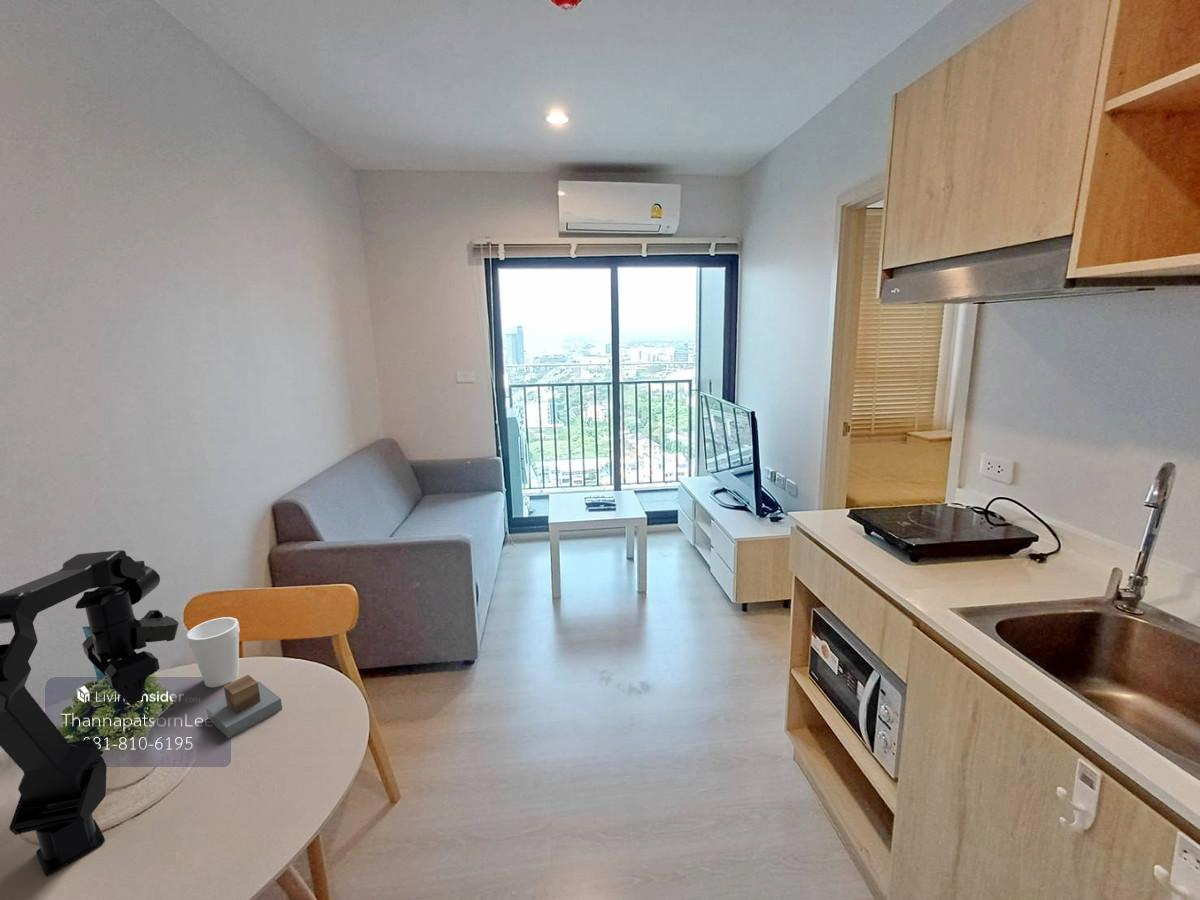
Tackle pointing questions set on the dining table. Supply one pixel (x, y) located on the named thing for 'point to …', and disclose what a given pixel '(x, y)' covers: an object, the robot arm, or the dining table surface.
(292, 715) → the dining table surface
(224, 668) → the foam cup
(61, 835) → the robot arm
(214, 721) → the block
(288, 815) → the dining table surface
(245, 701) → the walnut cube
